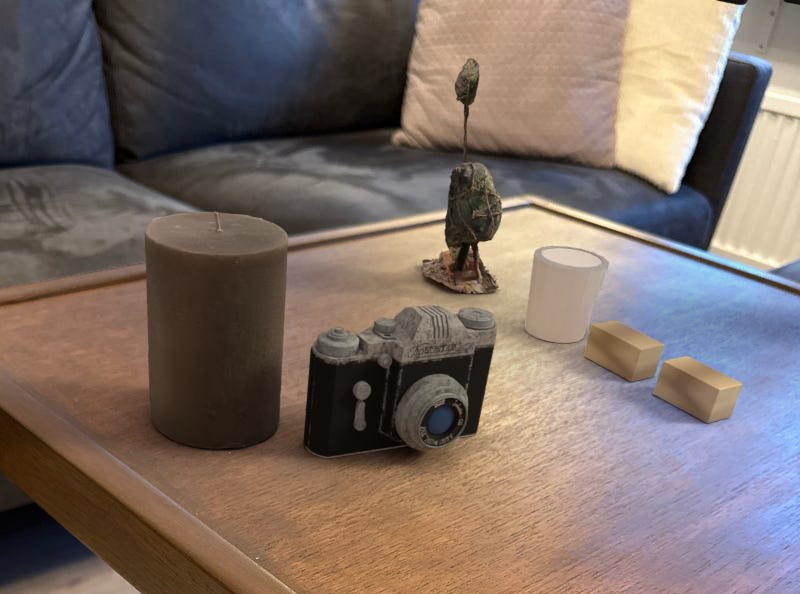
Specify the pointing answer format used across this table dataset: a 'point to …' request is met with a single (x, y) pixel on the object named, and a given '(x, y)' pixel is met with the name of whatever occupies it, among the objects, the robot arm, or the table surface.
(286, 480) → the table surface
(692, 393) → the bar
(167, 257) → the pillar candle
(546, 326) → the white cup
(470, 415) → the camera
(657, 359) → the bar
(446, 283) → the plant with pod
